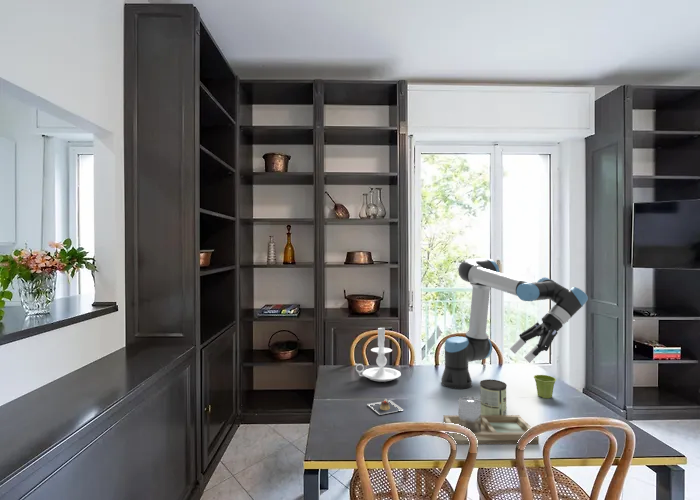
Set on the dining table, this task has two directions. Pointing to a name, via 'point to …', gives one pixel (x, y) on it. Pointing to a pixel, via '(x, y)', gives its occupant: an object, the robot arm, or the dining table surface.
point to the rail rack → (494, 429)
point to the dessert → (385, 406)
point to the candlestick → (380, 363)
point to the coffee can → (493, 397)
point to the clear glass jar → (470, 413)
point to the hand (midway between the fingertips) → (519, 355)
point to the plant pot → (544, 385)
